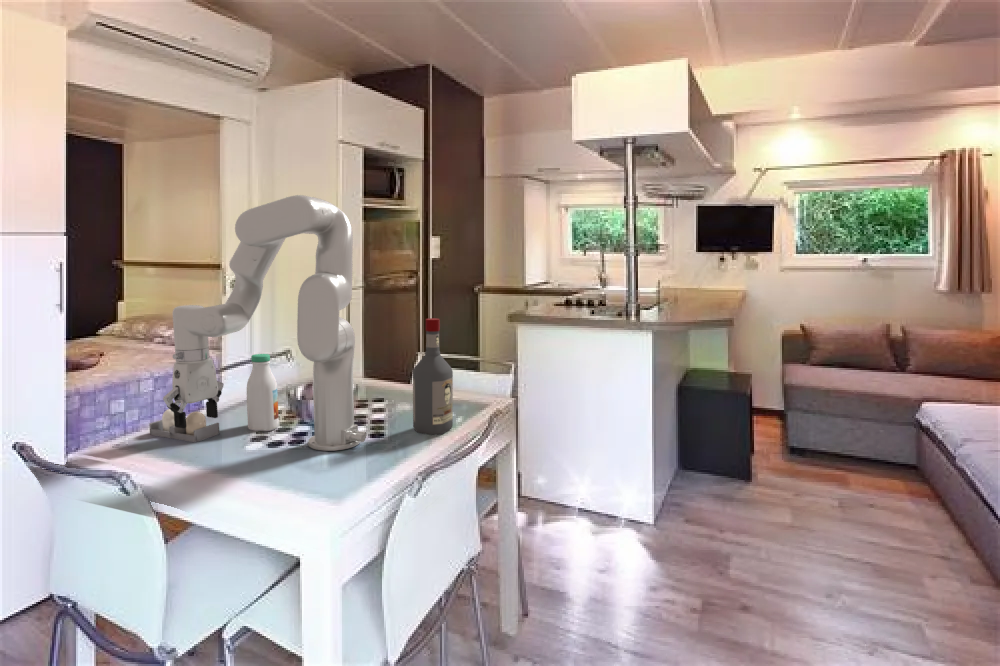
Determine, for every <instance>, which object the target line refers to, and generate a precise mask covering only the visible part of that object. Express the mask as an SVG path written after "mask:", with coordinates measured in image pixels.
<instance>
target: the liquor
mask: <svg viewBox="0 0 1000 666" xmlns="http://www.w3.org/2000/svg"><path fill="white" fill-rule="evenodd" d="M440 322H441V321H440V318H436V317H435V318H434V317H433V318H425V332H426V333H425V336H426V337H425V338H426V339H425V342H426V343H425V344H426V345H425V352H424V356H423V357H422V358H421V359H420V360H419V361H418V362H417V364H416V365H415V366H414V367H413V370H412V419H413V420H412V421H413V422H412V428H413V429H414V431H415V432H416V434H423V435H429V436H438V435H444V434H445V433H447V432H449V431H451V430H452V428H453V420H454V418H453V417H454V416H453V411H454V410H453V409H454V408H453V407H454V406H453V403H454V401H453V399H454V398H453V397H454V396H453V395H454V392H453V391H454V386H453V385H454V383H453V380H454V379H453V378H454V377H453V374H454V372H453V369H452V367H451V365H450V364H449V363H448V362H447V361H446V359H444V357H443V356H442V355H441V351H440V329H441V328H440V327H441V323H440ZM450 429H451V430H450Z"/></svg>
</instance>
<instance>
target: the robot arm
mask: <svg viewBox="0 0 1000 666" xmlns="http://www.w3.org/2000/svg"><path fill="white" fill-rule="evenodd" d="M234 232H235V235H236V237H237V239H238V240H239V244H238V245H237V248H236V249H235V251H234V253H233V255H232V257H231V259H230V261H229V264H228V265H229V269H230V270H231V271H232V273H233V274H234V277H235V278H234V279H235V280H234V286H233V289H232V290H231V293H230V295H229V297H228V298H227V299H226V302H225V303H221V304H217V305H211V306H206V307H205V306H203V305H196V304H195V305H194V304H188V305H187V304H186V305H178V306H176V307H174V308H173V310H172V325H173V326H172V327H173V340H174V341H173V342H174V351H175V352H174V353H173V354H172V359H173V360H175V362H174V363H173V370H172V381H171V382H172V384H171V385H172V389H171V390H170V391H168V392H167V394H166V395H164V396H163V398H162V400H163V402H164V403H165V404H166V408H168V409H170V410H171V411H172V412H174V423H175V427H177V428H186V417H187V415H186V412H185V411H184V410H185V409H186V407H187V406H188V404H194V403H198V402H201V401H205V400H206V402H205V408H206V409H205V410H206V417H207V418H212V419H217V418H218V417H219V414H218V403H219V401H220V397H221V396H222V391H223V388H224V386H225V385H224V382H222V381H219V380H218V378H217V372H216V367H215V363H214V360H213V359H212V357H211V358H210V343H209V338H219V337H223V336H227V335H230V334H234V333H238V332H240V331H241V330H243V329H244V328H245V327H246V326H247V324H248V323H249V322H250V320H251V319H252V317H253V315H254V313H255V311H256V310H257V308H258V306H259V303H260V301H261V298H262V295H263V294H262V293H263V288H264V280H265V278H266V275H267V273H268V272H269V270H270V267H271V266H272V264H273V262H274V260H275V259H276V256H277V255H278V253H279V252H280V249H281V248H282V245H283V244H284V242H285V240H286V239H287V238H290V237H294V236H298V235H302V234H309V235H315V236H316V237H317V240H318V242H317V246H316V249H315V250H316V252H315V271H314V274H312V275H309V276H308V277H306V279H305V280H304V281H303V282H302V284H301V286H300V288H299V290H298V291H299V292H298V297H297V321H296V322H297V323H296V324H297V326H296V327H297V329H296V330H297V332H296V333H297V334H296V335H297V336H296V338H297V340H296V341H297V345H298V349H299V351H300V354H302V356H303V357H304V358H306V360H309V361H310V362H312V363H313V365H312V366H313V367H312V381H313V382H312V394H313V427H314V430H313V431H314V435H313V436H310V438H309V439H308V441H307V443H308V447H309V448H311V449H313V450H317V451H325V452H326V451H327V452H328V451H329V452H330V451H332V452H333V451H342V450H347V449H351V448H354V447H356V446H358V445H359V444H360V443H363V442H365V441H366V438H367V431H362V430H359V425H358V424H356V423H355V408H354V403H355V400H354V358H355V357H354V355H355V348H356V336H355V331H354V328H353V326H352V325H351V324H350V322H349V321H348V320H347V319H345V318H343V317H341V316H340V311H342V310H343V309H345V308H346V307H348V305H349V304H350V303H351V301H352V297H353V252H354V251H353V250H354V248H353V246H354V235H353V228H352V225H351V222H350V220H349V217H348V216H347V215H346V214H345V212H344V211H343V210H341V209H340V208H339V207H338V206H337V205H335V204H333V203H332V202H330V201H327V200H325V199H322V198H319V197H316V196H315V197H314V196H313V197H312V196H310V195H309V196H308V195H303V194H300V195H299V194H297V195H291V196H288V197H287V196H286V197H283V198H280V199H277V200H274V201H271V202H269V203H265V204H261V205H257V206H255V207H251V208H249V209H246V210H245V211H242V213H241V214H240V215H239V216H238V218H237V219H236V221H235V224H234Z"/></svg>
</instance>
